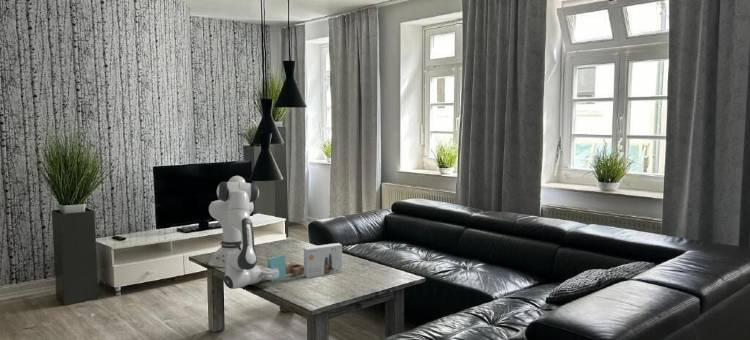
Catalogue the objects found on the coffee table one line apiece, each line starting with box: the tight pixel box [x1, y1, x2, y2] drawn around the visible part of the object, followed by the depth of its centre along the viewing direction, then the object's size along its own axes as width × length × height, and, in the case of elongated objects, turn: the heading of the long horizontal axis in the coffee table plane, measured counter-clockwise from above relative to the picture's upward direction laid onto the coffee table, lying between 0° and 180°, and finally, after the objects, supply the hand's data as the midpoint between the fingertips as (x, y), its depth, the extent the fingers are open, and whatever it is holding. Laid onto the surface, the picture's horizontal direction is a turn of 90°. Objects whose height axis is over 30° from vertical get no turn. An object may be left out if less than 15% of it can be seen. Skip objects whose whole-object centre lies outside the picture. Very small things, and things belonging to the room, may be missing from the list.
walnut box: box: [286, 262, 304, 277], centre depth 321 cm, size 8×11×4 cm
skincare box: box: [302, 242, 343, 279], centre depth 317 cm, size 21×6×16 cm, turn 117°
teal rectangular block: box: [267, 254, 287, 283], centre depth 310 cm, size 10×2×12 cm, turn 140°
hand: (274, 268), depth 309 cm, fingers closed on teal rectangular block, 2 cm apart
